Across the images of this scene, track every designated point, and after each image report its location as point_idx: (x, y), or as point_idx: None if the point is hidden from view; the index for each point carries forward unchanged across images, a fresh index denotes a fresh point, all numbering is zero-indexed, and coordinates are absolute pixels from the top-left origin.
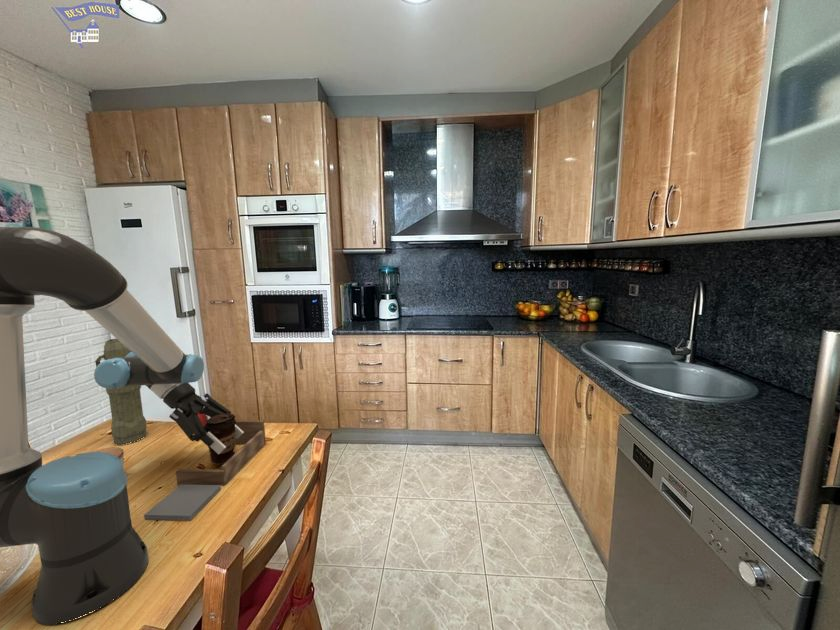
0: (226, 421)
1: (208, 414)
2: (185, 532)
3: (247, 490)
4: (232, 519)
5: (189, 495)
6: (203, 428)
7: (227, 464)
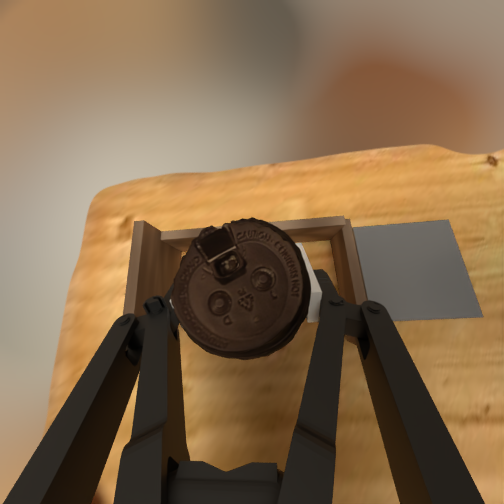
0: (260, 232)
1: (180, 405)
2: (465, 211)
3: (340, 182)
4: (413, 161)
5: (399, 267)
6: (325, 316)
7: (333, 217)
